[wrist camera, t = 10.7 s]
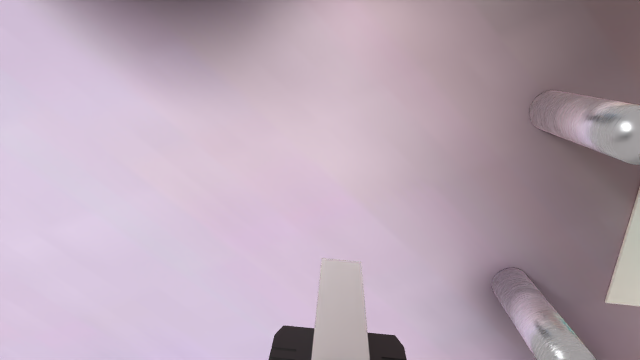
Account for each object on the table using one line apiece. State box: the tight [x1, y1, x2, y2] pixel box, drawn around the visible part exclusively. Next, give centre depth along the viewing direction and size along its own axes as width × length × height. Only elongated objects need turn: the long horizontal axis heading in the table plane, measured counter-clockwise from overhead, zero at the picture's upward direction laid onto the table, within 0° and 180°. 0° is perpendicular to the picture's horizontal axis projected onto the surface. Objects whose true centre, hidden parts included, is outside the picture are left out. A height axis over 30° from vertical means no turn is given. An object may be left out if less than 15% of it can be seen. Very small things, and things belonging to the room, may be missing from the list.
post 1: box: [529, 90, 640, 165], centre depth 23 cm, size 3×3×9 cm
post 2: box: [492, 268, 597, 360], centre depth 27 cm, size 3×3×9 cm
